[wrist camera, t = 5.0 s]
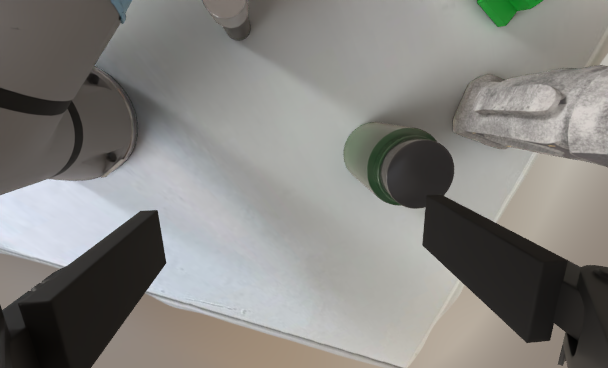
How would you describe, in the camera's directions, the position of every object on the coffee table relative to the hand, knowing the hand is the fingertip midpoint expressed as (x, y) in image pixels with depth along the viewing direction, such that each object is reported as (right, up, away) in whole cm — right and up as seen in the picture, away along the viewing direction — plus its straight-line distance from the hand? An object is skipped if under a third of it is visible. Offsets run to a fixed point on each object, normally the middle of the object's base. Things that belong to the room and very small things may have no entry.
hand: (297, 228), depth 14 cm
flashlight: (-8, +22, +23) cm, 33 cm away
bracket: (+28, +31, +24) cm, 48 cm away
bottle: (+11, +7, +29) cm, 32 cm away
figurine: (+28, +13, +30) cm, 43 cm away
